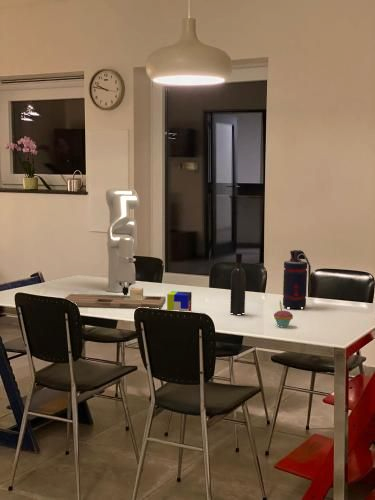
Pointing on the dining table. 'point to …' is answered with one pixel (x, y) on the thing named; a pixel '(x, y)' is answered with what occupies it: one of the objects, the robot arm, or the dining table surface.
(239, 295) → the wine bottle
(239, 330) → the dining table surface
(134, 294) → the maple block
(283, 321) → the cupcake
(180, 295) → the puzzle toy
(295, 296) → the grenade
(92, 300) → the trap deck
